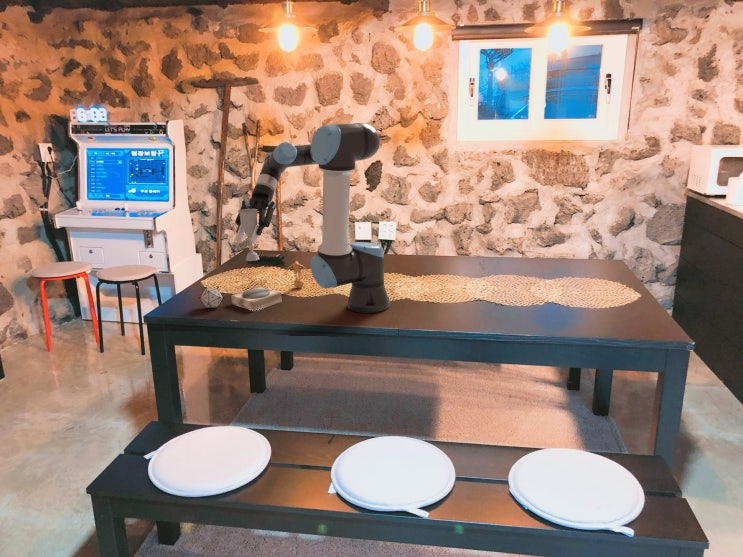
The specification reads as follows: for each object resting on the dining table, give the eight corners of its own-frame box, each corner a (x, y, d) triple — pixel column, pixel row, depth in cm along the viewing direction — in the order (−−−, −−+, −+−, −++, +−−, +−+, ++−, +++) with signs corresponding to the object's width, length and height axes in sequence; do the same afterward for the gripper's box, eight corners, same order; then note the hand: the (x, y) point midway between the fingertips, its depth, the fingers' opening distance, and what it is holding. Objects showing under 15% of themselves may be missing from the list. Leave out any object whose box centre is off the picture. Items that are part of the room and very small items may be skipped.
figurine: (310, 286, 239) (308, 257, 235) (307, 291, 233) (306, 261, 230) (289, 286, 239) (287, 258, 236) (287, 291, 234) (284, 262, 230)
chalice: (257, 261, 213) (252, 212, 208) (239, 261, 214) (234, 212, 209) (265, 256, 220) (260, 208, 215) (247, 256, 221) (243, 208, 216)
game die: (214, 319, 217) (207, 304, 208) (198, 308, 220) (190, 292, 212) (231, 302, 221) (225, 287, 212) (215, 291, 224) (208, 276, 216)
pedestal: (281, 301, 222) (281, 291, 221) (254, 311, 212) (253, 300, 211) (259, 295, 230) (258, 285, 229) (232, 304, 221) (231, 294, 219)
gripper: (290, 195, 222) (272, 248, 212) (247, 195, 228) (227, 246, 218) (282, 183, 215) (263, 237, 205) (238, 183, 222) (217, 235, 212)
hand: (245, 241), depth 212 cm, fingers closed on chalice, 6 cm apart
